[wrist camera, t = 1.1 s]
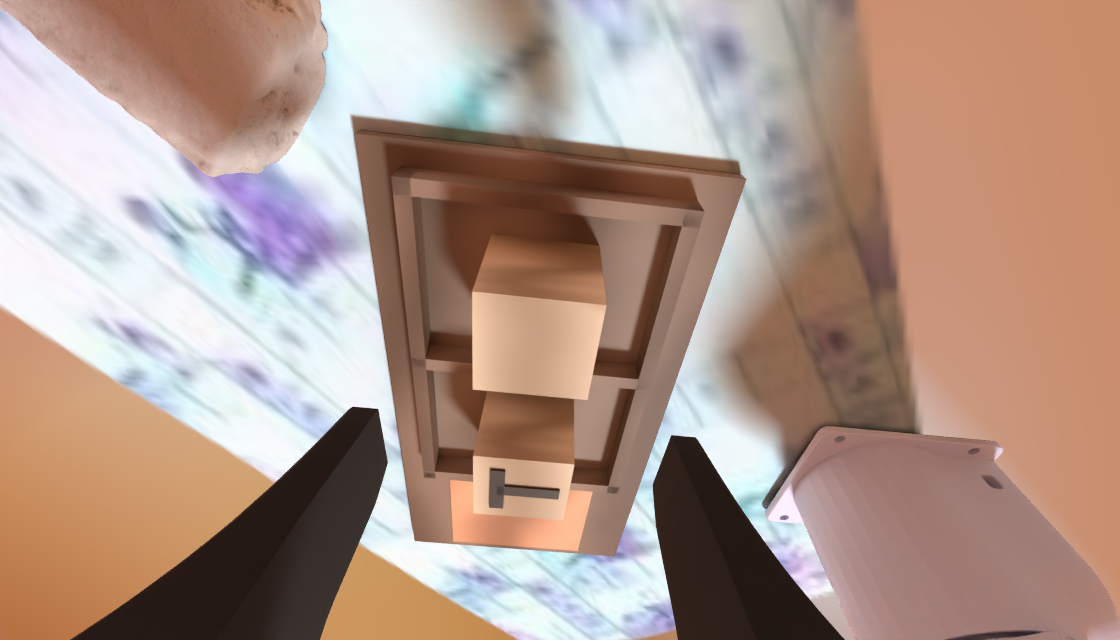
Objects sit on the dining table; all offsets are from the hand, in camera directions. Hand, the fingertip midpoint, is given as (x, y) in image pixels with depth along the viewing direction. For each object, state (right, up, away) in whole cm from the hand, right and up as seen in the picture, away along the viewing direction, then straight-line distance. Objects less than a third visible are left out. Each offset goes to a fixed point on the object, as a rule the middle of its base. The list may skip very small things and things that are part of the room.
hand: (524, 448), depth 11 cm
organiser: (-1, -1, +11) cm, 11 cm away
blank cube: (0, +5, +6) cm, 8 cm away
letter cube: (-1, -2, +11) cm, 11 cm away
